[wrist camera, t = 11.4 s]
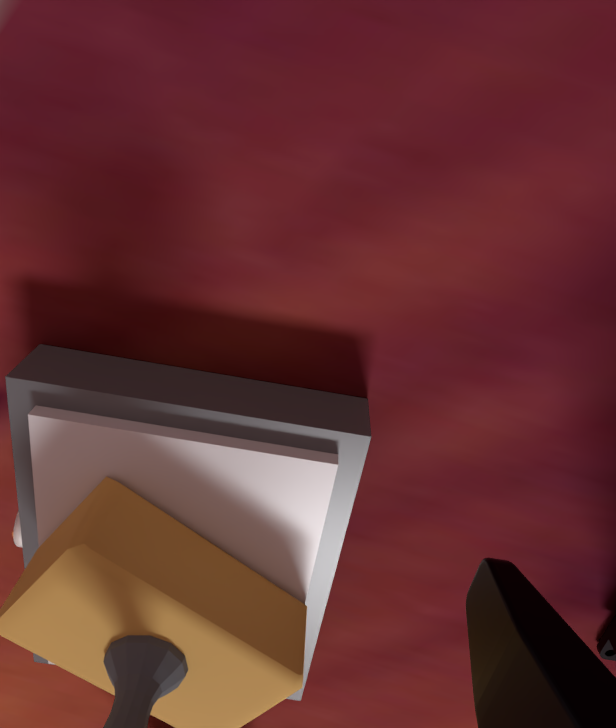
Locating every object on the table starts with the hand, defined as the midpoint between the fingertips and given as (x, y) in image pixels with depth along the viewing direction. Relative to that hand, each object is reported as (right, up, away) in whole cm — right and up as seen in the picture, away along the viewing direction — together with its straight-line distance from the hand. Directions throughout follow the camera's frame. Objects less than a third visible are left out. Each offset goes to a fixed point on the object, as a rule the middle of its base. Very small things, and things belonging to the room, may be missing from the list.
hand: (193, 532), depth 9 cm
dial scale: (-4, -5, +17) cm, 18 cm away
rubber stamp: (-4, -6, +15) cm, 16 cm away
